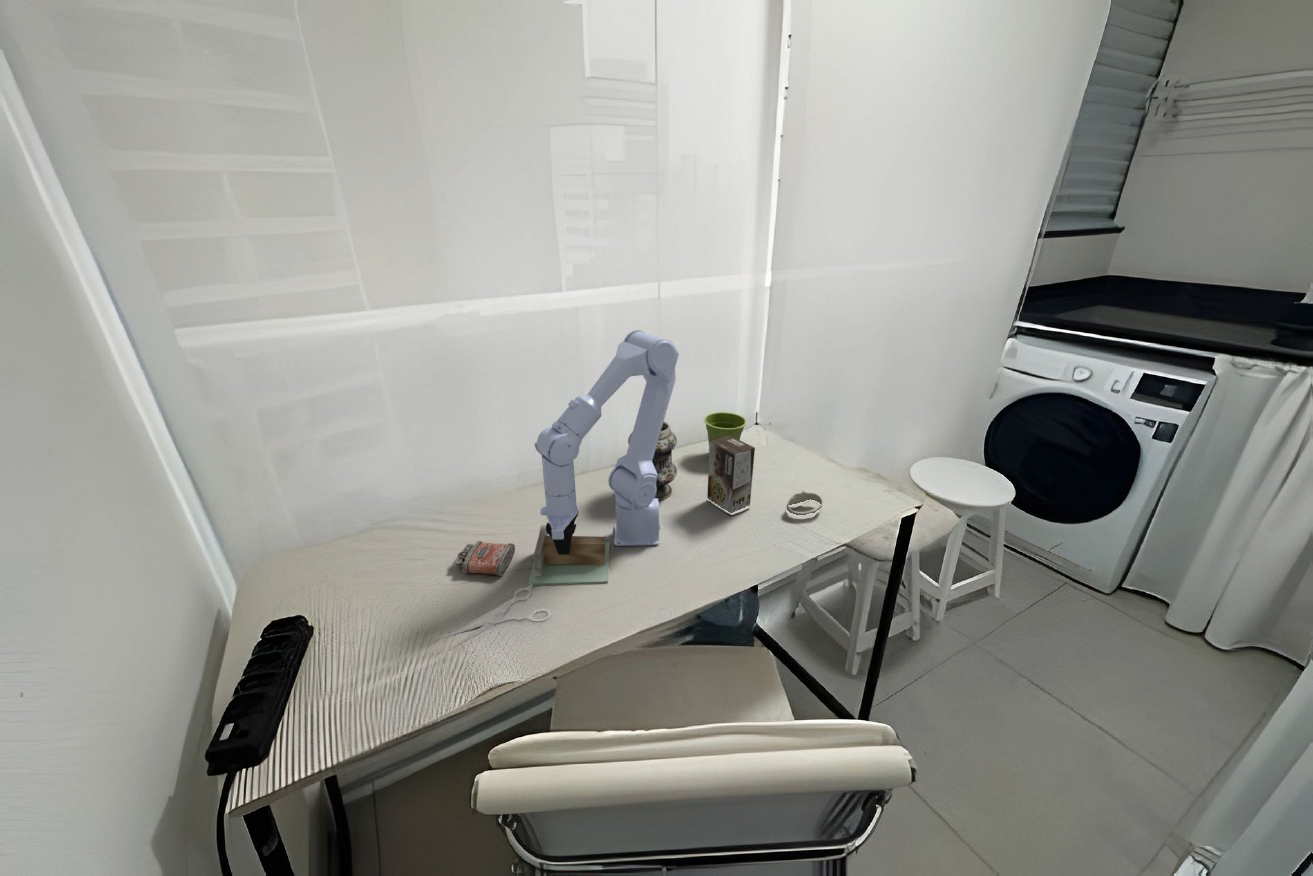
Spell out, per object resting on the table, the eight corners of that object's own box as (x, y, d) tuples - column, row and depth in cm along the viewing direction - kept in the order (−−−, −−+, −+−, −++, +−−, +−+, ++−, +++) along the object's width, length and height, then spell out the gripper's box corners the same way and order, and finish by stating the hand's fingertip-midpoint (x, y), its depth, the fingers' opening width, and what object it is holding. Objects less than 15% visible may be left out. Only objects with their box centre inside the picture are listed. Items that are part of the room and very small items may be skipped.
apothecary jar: (674, 479, 140) (676, 415, 132) (678, 503, 129) (679, 435, 121) (628, 480, 139) (627, 416, 132) (627, 504, 128) (626, 436, 121)
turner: (605, 546, 112) (606, 526, 110) (603, 576, 103) (604, 555, 101) (542, 545, 111) (541, 524, 109) (534, 576, 102) (533, 554, 100)
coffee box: (751, 508, 127) (756, 447, 120) (730, 517, 123) (735, 454, 117) (725, 492, 134) (729, 433, 127) (705, 500, 130) (708, 440, 124)
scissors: (561, 611, 95) (447, 666, 84) (561, 615, 95) (448, 669, 84) (534, 580, 102) (427, 626, 91) (534, 583, 103) (427, 630, 92)
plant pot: (700, 464, 148) (702, 426, 143) (704, 446, 158) (705, 410, 154) (743, 467, 146) (746, 429, 141) (744, 449, 157) (747, 413, 152)
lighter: (498, 566, 102) (448, 562, 103) (501, 580, 103) (452, 576, 104) (513, 539, 109) (466, 536, 110) (515, 552, 110) (469, 549, 111)
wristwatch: (810, 503, 130) (813, 485, 127) (828, 516, 124) (831, 497, 122) (779, 510, 126) (781, 492, 124) (795, 524, 121) (798, 505, 119)
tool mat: (609, 542, 114) (609, 541, 114) (607, 583, 102) (607, 581, 102) (539, 544, 113) (538, 543, 113) (528, 585, 101) (528, 583, 101)
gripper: (544, 471, 107) (549, 528, 112) (532, 510, 94) (539, 572, 99) (579, 470, 107) (583, 527, 113) (572, 509, 94) (577, 571, 100)
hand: (564, 548), depth 106 cm, fingers closed on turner, 2 cm apart
